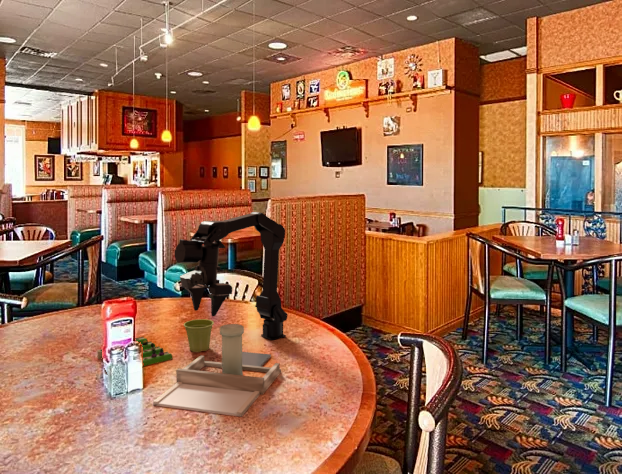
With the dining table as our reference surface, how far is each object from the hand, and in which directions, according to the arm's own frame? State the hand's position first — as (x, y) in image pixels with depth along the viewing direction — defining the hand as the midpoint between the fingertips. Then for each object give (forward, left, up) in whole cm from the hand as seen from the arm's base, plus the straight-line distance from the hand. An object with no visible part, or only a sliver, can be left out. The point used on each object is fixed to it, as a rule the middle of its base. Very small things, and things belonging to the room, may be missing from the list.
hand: (204, 313), depth 152 cm
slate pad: (-8, +12, -14) cm, 20 cm away
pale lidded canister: (+1, +18, -14) cm, 23 cm away
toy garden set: (+18, -17, -15) cm, 28 cm away
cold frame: (+3, +19, -14) cm, 24 cm away
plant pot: (-2, -8, -14) cm, 16 cm away
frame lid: (+14, +27, -14) cm, 34 cm away
